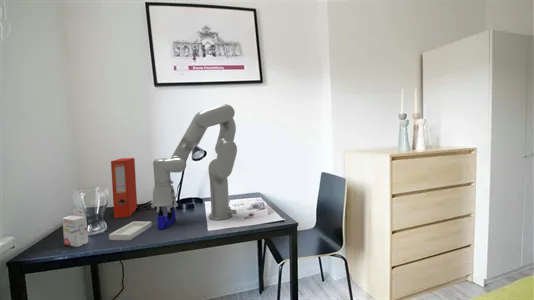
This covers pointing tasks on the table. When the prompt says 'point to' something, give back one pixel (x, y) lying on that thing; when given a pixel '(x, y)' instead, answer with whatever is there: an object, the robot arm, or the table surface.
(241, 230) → the table surface
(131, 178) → the file binder
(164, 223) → the cable clip
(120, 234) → the tray
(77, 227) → the ink cartridge box
